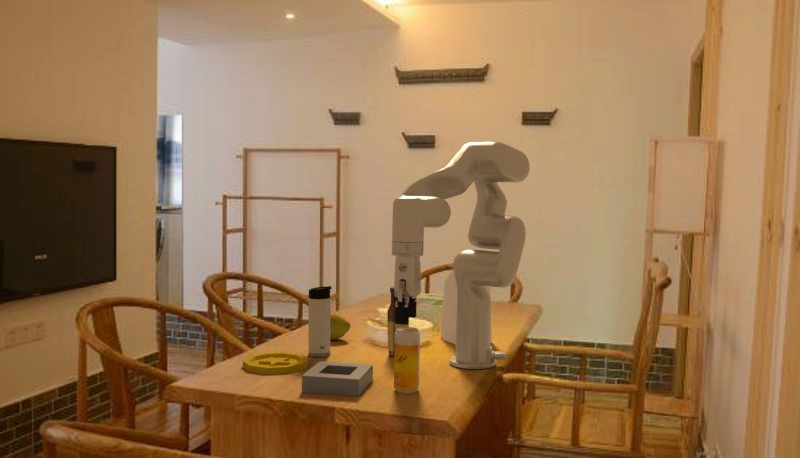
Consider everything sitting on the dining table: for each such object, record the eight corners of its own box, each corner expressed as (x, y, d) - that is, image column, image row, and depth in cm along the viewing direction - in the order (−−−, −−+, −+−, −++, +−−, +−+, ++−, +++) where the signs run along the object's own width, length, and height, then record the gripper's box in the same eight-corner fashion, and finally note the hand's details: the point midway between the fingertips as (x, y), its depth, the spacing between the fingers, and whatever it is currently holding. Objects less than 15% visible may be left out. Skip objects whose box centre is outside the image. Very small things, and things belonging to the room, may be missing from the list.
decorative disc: (310, 373, 192) (310, 366, 192) (242, 376, 188) (242, 368, 188) (306, 358, 208) (306, 351, 208) (243, 360, 205) (243, 353, 205)
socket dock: (372, 380, 185) (373, 364, 184) (358, 396, 171) (359, 379, 171) (319, 376, 188) (319, 361, 187) (301, 392, 174) (301, 375, 174)
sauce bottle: (412, 354, 212) (413, 286, 211) (403, 358, 207) (404, 289, 205) (392, 351, 215) (393, 284, 214) (383, 356, 210) (383, 287, 208)
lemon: (311, 340, 229) (311, 315, 229) (324, 335, 236) (325, 311, 236) (341, 344, 225) (341, 318, 224) (354, 339, 232) (354, 314, 231)
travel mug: (327, 358, 207) (327, 288, 205) (305, 356, 208) (305, 287, 207) (334, 353, 213) (334, 285, 211) (312, 351, 214) (312, 284, 213)
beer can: (392, 387, 179) (393, 326, 178) (417, 386, 179) (418, 326, 178) (394, 394, 173) (395, 332, 172) (420, 394, 173) (421, 331, 172)
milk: (472, 335, 239) (474, 256, 237) (491, 342, 229) (493, 260, 227) (440, 338, 234) (441, 257, 232) (458, 346, 223) (460, 261, 222)
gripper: (416, 252, 164) (414, 328, 165) (428, 247, 181) (427, 315, 182) (384, 251, 166) (382, 326, 167) (399, 246, 183) (397, 314, 184)
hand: (405, 320), depth 174 cm, fingers open, 9 cm apart
